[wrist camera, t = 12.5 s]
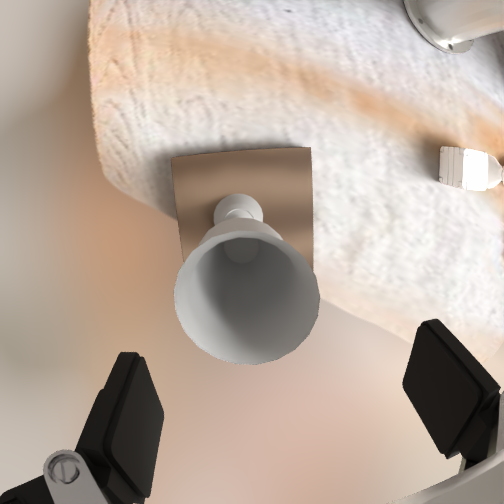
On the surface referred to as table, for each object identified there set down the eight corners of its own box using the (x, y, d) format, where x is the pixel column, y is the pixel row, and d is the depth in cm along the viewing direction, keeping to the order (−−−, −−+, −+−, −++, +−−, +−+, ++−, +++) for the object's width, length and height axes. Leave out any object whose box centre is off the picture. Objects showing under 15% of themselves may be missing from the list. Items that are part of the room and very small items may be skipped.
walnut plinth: (176, 156, 31) (170, 157, 28) (304, 147, 32) (310, 147, 29) (190, 275, 36) (187, 286, 33) (307, 265, 37) (313, 275, 34)
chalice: (192, 200, 30) (145, 268, 13) (254, 171, 30) (286, 203, 13) (223, 262, 32) (219, 380, 16) (282, 235, 32) (337, 334, 15)
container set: (436, 183, 34) (462, 190, 29) (438, 144, 33) (464, 147, 27) (515, 191, 35) (538, 198, 30) (517, 161, 34) (540, 165, 28)
